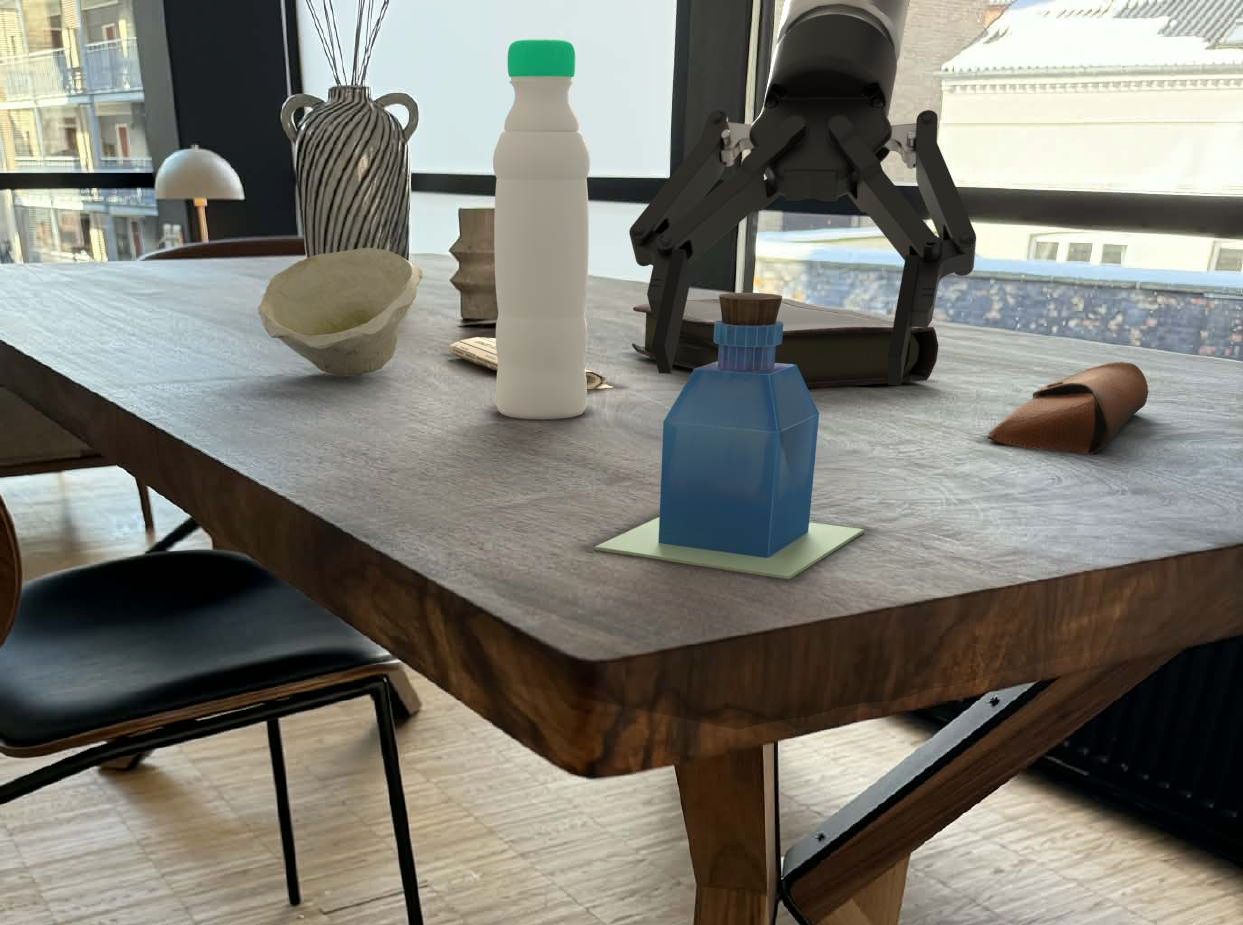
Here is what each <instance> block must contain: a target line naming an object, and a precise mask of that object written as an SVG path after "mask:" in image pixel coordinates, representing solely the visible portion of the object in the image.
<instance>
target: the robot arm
mask: <svg viewBox="0 0 1243 925" xmlns="http://www.w3.org/2000/svg"><path fill="white" fill-rule="evenodd" d="M910 1H911V0H785V2H784V5H783V10H782V14H781V20H780V24H779V29H778V33H777V38H776V48H775V50H774V53H773V57H772V62H771V67H770V72H769V76H768V81H767V87H766V92H765V96H764V102H763V106H762V109H761V112H760V114H759V115H758V117H757V118H756V119H755V120H754V121H753V123H752V124H750V123H740V122H731V121H730V122H729V118H728V114H727V112H726V111H725V110H722V109H716V110H713V111H712V112H710V113H709V115H708V117H707V118H706V121H705V125H704V126H703V127H704V128H703V130H702V133H701V136H700V138H699V141H698V142H697V143H696V145H694V147H693V148H692V149H691V151H690V152H689V153H688V155H687V156H686V157H685V159H684V160H683V161H682V162H681V163H680V165H679V166H678V167H677V168H676V169H675V171H674V172H673V173H672V175H671V176H670V177H669V179H668V180H667V181H666V182H665V183H664V185H663V186H662V187H661V189H659V191H658V192H657V193H656V195H655V196H654V197H653V199H651V201H650V203H649V204H648V205H647V206H646V208H645V209H644V210H643V211H642V213H641V214H640V215H639V216H638V217H637V219H636V220H635V221H634V223H633V224H632V225H631V227H630V228H629V231H628V234H629V238H630V242H631V246H632V250H633V254H634V259H635V262H636V264H637V265H638V266H640V267H648V266H649V265H651V266H652V270H651V274H650V278H649V283H648V287H647V292H646V296H647V300H648V304H649V305H650V309H651V313H652V317H658V319H657V324H656V328H655V333H654V337H653V342H652V348H653V352H654V356H655V359H654V360H655V364H656V368H657V372H658V374H661V375H662V374H666V375H671V374H672V371H673V366H674V364H673V362H674V357H675V352H676V348H677V343H678V338H679V334H680V329H681V324H682V320H683V315H684V310H685V306H686V301H687V300H688V296H689V291H690V288H691V282H692V279H691V273H690V267H689V265H691V264H692V263H693V262H694V261H695V260H696V259H698V258H699V257H700V256H701V255H702V254H704V253H705V252H706V251H708V250H709V248H711V247H712V246H713V245H714V244H716V243H717V242H718V241H719V240H720V239H722V238H723V237H724V236H725V235H727V234H728V233H729V232H730V231H731V230H733V229H734V228H735V227H736V226H738V225H739V224H740V223H741V222H742V221H743V220H745V219H746V218H747V217H748V216H750V214H752V213H753V212H754V211H756V210H757V211H763V210H764V209H766V208H767V207H768V206H770V204H772V203H773V202H774V201H775V200H776V199H778V198H779V197H780V196H783V197H784V199H785V201H787V202H792V201H793V202H794V201H795V202H798V201H799V202H800V201H803V200H808V199H809V200H810V199H814V200H818V201H822V202H838V198H840V197H844V196H845V195H847V196H848V197H849V198H850V200H851V201H852V202H853V203H854V205H855V206H856V207H857V209H858V210H859V211H860V212H861V213H866V214H867V215H868V217H869V218H870V219H871V221H873V224H875V225H876V227H877V228H878V229H879V230H880V231H881V233H882V234H883V235H884V237H885V238H886V239H887V240H888V242H889V243H890V244H891V245H892V247H893V248H894V249H895V251H896V252H897V253H898V254H899V255H900V257H901V258H902V259H903V261H904V264H903V269H902V275H901V280H900V286H899V291H898V297H897V302H896V307H895V308H896V309H895V313H894V319H893V321H894V324H893V330H892V335H891V341H890V346H889V352H888V383H887V385H889V386H890V385H891V386H902V383H903V382H902V377H903V371H904V366H905V360H906V354H907V349H908V343H909V337H910V332H911V327H926V328H927V327H928V326H930V324H931V323H932V321H933V318H934V311H935V306H936V300H937V295H938V288H939V284H940V282H941V281H942V279H943V278H944V277H946V276H948V275H951V274H955V275H957V276H960V277H965V276H968V275H970V274H971V273H972V272H973V270H974V268H975V258H976V246H977V234H976V232H975V229H974V227H973V225H972V222H971V220H970V218H969V215H968V213H967V210H966V208H965V206H964V203H963V201H962V198H961V196H960V193H959V191H958V189H957V187H956V184H955V182H954V179H953V177H952V175H951V173H950V170H949V168H948V165H947V163H946V161H945V158H944V156H943V153H942V150H941V149H940V146H939V144H938V122H939V121H938V120H939V117H938V113H936V111H934V110H932V109H926V110H923V111H921V112H919V114H918V115H917V117H916V122H915V123H904V124H891V122H890V120H889V115H890V110H891V104H892V98H893V94H894V88H895V82H896V77H897V71H898V62H899V59H900V57H901V50H902V45H903V39H904V34H905V29H906V28H905V27H906V22H907V16H908V10H909V6H910ZM747 150H750V152H749V153H748V154H747V155H746V156H745V157H744V158H743V159H742V161H741V163H740V167H739V168H738V169H737V170H736V171H735V172H734V173H733V174H731V175H730V176H729V177H728V178H727V179H725V180H724V181H722V182H721V184H720V185H718V186H717V187H715V189H713V190H712V191H711V189H712V188H713V187H714V186H715V185H716V183H717V182H718V181H719V179H720V178H721V175H722V174H723V172H724V170H725V168H726V167H727V168H729V167H732V166H734V164H735V159H736V158H737V157H738V155H739V154H740V153H741V152H743V151H747ZM891 152H897V153H898V154H899V155H900V158H901V161H902V162H903V163H905V164H906V167H907V168H908V169H909V170H912V169H914V175H915V181H916V184H917V187H918V189H919V191H920V194H921V197H922V200H923V201H924V203H925V207H926V210H927V211H928V213H929V217H930V218H931V221H932V223H933V226H934V228H935V230H936V233H937V235H938V236H937V235H936V234H935V233H934V232H933V231H932V229H931V228H930V227H929V225H927V223H926V222H925V220H924V219H923V218H922V217H921V216H920V215H919V213H918V212H917V211H916V209H915V208H914V207H913V206H912V204H911V203H910V202H909V201H908V199H907V198H906V197H905V196H904V195H903V194H902V192H901V191H900V190H899V189H898V187H897V186H896V185H895V184H894V183H893V181H892V179H890V177H889V176H888V175H887V174H886V173H885V171H884V169H883V166H882V164H881V163H882V162H883V161H884V160H885V159H886V158H887V157H888V156H889V154H890V153H891ZM710 191H711V192H710ZM709 192H710V193H709Z"/></svg>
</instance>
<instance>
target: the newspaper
mask: <svg viewBox="0 0 1243 925" xmlns="http://www.w3.org/2000/svg"><path fill="white" fill-rule="evenodd" d="M448 352H449V353H450V354H451V355H453V356H455V357H457V358H460V359H462V360H465V361H468V362H470V363H472V364H475V365H477V366H480V367H483V368H485V369H487V370H491V371H493V372H495V373H497V370H498V358H497V351H496V337H495V338H493V337H480V336H476V337H471V338H465V339H461V340H458V341H456V342H453V343H451V344H449V346H448ZM585 371H586V383H587V390H593V389H599V390H603V389H615V387H614V386H611V385H609V384H606V379H607V377H606V376H603V375H601V374H599V373H596V372H594V371H592V370H589V369H586V368H585Z"/></svg>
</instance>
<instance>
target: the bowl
mask: <svg viewBox="0 0 1243 925" xmlns="http://www.w3.org/2000/svg"><path fill="white" fill-rule="evenodd" d="M423 276H424V274H423V270H422V269H421V268H419V267H416V266H415V265H414V264H412V263H411V262H410V261H409V260H407V259H406V258H404V257H403V256H401V255H399V254H397V253H395V252H392V251H390V250H387V249H380V248H375V247H359V248H355V249H348V250H342V251H333V252H328V253H318V254H316V255H312V256H309V257H308V256H307V257H306V258H305V259H301V260H299V261H297V262H295V263H293V264H292V265H290V266H288V267H287V268H286V269H284V270H282V271H280V272H278V273H276V274H274V276H272V278H271V279H270V280H269V283H268V285H267V286H266V288H265V292H264V293H263V295H262V300H261V302H260V304H259V306H258V307H257V313H258V315H259V317H260V319H261V323H262V326H263V327H264V330H265V331H266V333H267V334H268V336H269V337H270V338H272V339H276V338H277V339H278V340H280V341H281V342H282V343H283V344H285V345H286V346H287V347H288V348H290V350H292V351H294V352H295V353H296V354H297V355H299V356H301V358H304V359H306V360H307V361H308V362H310V363H311V364H313V365H314V366H315V367H317V368H318V369H319V370H320V371H322V372H324V373H327V374H330V375H337V376H350V377H351V376H354V377H355V376H360V375H363V374H369V373H374V372H376V371H378V370H381V369H382V368H383V367H384V366H385V365H386V364H387V363H388V362H389V361H391V360H392V358H393V357H394V355H395V351H396V349H397V343H398V339H399V332H400V327H401V325H402V322H403V320H404V318H405V317H406V314H407V312H408V311H409V309H410V308H411V306H412V305H413V304H414V302H415V300H416V298H417V293H418V286H419V284H420V283H421V281H422V279H423Z"/></svg>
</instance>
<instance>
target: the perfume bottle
mask: <svg viewBox="0 0 1243 925" xmlns="http://www.w3.org/2000/svg"><path fill="white" fill-rule="evenodd" d="M718 299H719V300H720V307H721V314H722V319H721V320H717V321H715V322H714V340H713V341H714V343H716V344H719V352H718V361H717V362H714V363H711V364H708V365H705V366H702V367H698V368H695V369H692V372H691V373H690V376H688V378H687V381H686V382H685V384H684V386H683V387H682V389H681V391H680V393H679V394H678V395H677V397H676V399H675V401H674V402H673V404H672V406H671V408H670V409H669V411H668V413H667V415H666V416H665V418H664V419H663V421H662V447H661V467H660V468H661V470H660V491H659V492H660V494H659V516H658V517H659V540H658V543H662V544H670V545H677V546H684V547H692V548H699V549H706V550H713V551H721V552H728V553H735V554H743V555H750V556H757V557H765V558H769V557H770V556H772V555H773V554H775V553H776V552H778V551H780V550H781V549H783V548H784V547H786V546H787V545H789V544H790V543H792V542H793V541H795V540H797V539H798V538H800V537H801V536H803V535H804V534H806V533H807V532H808V530H809V522H810V517H811V508H812V507H811V506H812V497H813V487H814V477H815V476H814V474H815V464H816V453H817V443H818V442H817V441H818V432H819V420H820V412H819V410H818V408H817V405H816V404H815V401H814V399H813V397H812V395H811V393H810V391H809V388H807V386H806V384H805V382H804V380H803V378H802V376H801V374H800V371H799V369H798V367H797V365H795V364H782V363H775V351H776V345H780V344H781V343H782V335H783V322H781V321H776V319H777V315H778V312H779V308H780V304H781V301H782V299H783V295H781V294H774V293H764V292H730V293H729V292H728V293H721V294H718Z"/></svg>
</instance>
